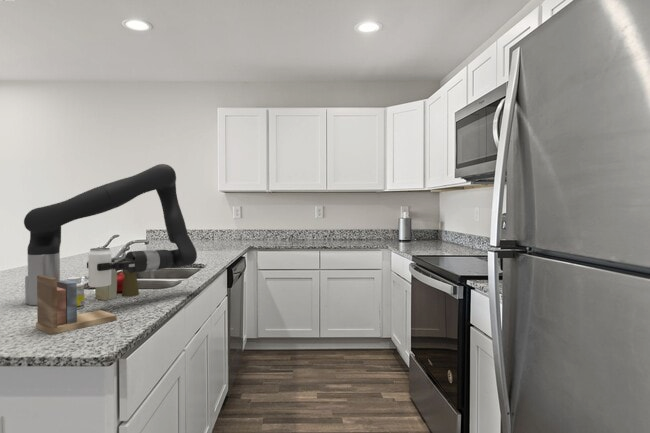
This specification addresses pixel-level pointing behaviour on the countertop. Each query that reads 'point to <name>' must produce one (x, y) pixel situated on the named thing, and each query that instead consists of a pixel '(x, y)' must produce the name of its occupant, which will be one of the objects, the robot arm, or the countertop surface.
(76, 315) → the wooden bookend
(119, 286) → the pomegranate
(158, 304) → the countertop surface
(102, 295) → the skincare box
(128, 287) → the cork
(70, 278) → the supplement bottle
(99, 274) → the can
